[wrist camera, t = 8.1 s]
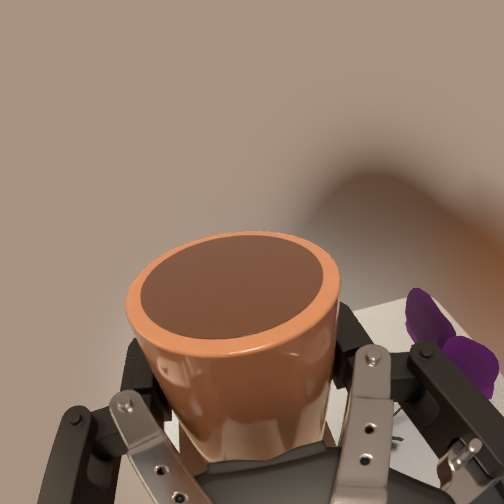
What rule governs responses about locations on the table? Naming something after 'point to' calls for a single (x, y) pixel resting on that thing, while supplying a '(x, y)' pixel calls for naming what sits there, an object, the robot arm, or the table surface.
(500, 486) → the tray
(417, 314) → the flower
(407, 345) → the table surface
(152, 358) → the cup
